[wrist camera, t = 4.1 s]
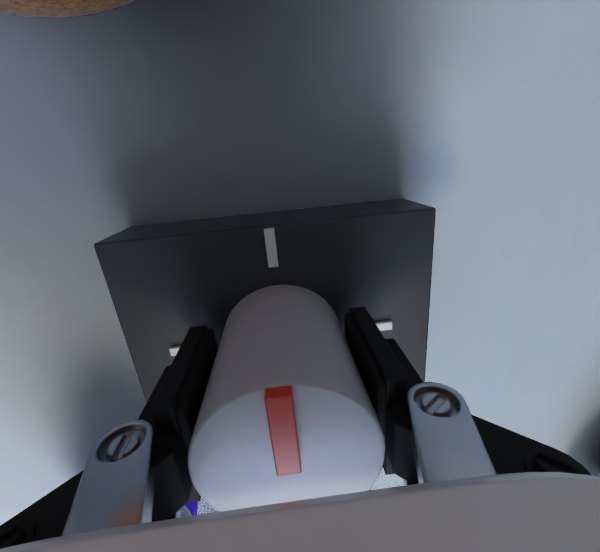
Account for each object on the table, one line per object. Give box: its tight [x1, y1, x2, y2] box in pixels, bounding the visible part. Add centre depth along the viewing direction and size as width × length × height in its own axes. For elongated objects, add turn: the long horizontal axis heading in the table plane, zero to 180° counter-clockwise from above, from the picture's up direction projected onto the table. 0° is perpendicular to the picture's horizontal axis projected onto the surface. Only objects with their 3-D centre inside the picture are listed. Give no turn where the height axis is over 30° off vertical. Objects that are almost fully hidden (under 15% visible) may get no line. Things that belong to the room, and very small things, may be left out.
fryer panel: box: [94, 199, 436, 402], centre depth 14 cm, size 12×9×3 cm
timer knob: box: [188, 285, 385, 512], centre depth 10 cm, size 5×5×6 cm
